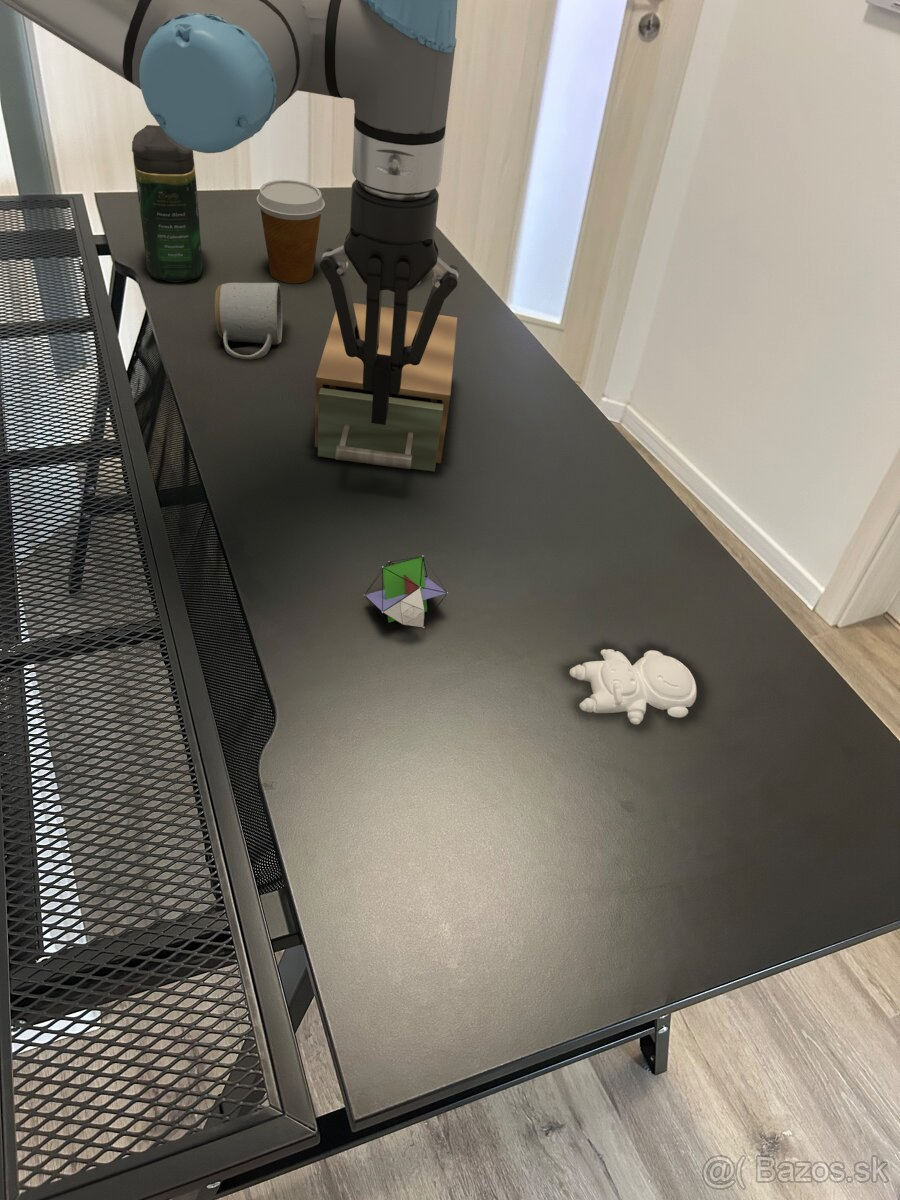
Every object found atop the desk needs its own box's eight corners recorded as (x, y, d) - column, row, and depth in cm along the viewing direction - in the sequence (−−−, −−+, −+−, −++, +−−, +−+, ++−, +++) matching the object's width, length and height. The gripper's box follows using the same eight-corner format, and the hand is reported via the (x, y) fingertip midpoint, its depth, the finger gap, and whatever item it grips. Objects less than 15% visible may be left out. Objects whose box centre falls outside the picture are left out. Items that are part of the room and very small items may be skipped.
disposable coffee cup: (247, 266, 128) (243, 184, 120) (301, 255, 133) (300, 174, 125) (281, 294, 124) (280, 210, 115) (336, 280, 129) (338, 199, 120)
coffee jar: (205, 284, 123) (193, 147, 110) (147, 284, 121) (128, 144, 108) (202, 254, 129) (190, 121, 116) (147, 254, 127) (129, 118, 114)
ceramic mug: (222, 322, 116) (218, 267, 111) (283, 326, 117) (282, 273, 112) (213, 364, 109) (208, 309, 103) (278, 368, 110) (277, 314, 105)
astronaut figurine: (562, 654, 82) (569, 633, 79) (681, 657, 83) (691, 636, 81) (578, 729, 76) (586, 709, 73) (706, 731, 77) (718, 711, 75)
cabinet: (439, 469, 99) (450, 395, 92) (314, 453, 99) (315, 376, 91) (447, 388, 112) (457, 317, 104) (336, 373, 111) (338, 300, 104)
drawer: (431, 503, 93) (440, 441, 88) (309, 487, 93) (309, 424, 87) (442, 393, 109) (450, 334, 103) (338, 379, 108) (340, 319, 102)
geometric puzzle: (349, 574, 82) (373, 558, 75) (412, 556, 85) (442, 540, 78) (371, 644, 82) (397, 636, 75) (434, 625, 85) (465, 615, 78)
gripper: (312, 189, 70) (312, 429, 87) (469, 211, 71) (439, 445, 87) (326, 157, 75) (323, 389, 92) (472, 178, 76) (443, 405, 93)
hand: (379, 416), depth 90 cm, fingers closed
